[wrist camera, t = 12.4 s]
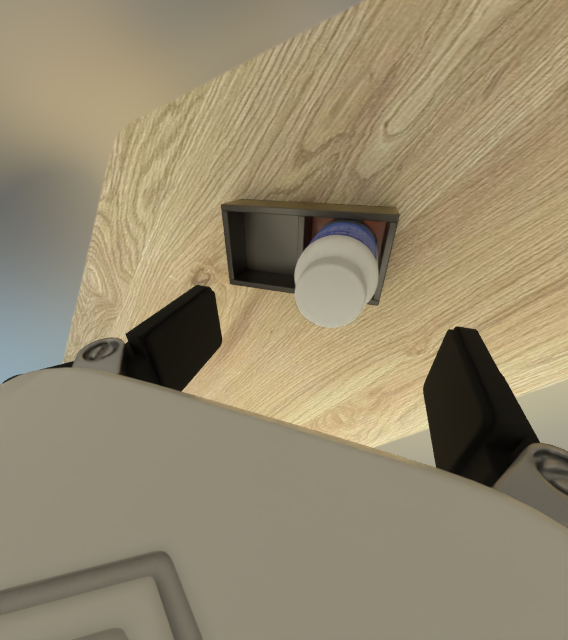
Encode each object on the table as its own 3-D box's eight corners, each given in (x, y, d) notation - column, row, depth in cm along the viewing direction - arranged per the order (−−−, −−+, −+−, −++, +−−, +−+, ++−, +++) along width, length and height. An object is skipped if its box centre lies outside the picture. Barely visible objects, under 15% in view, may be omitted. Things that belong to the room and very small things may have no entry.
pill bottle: (307, 225, 22) (268, 261, 14) (373, 207, 20) (370, 237, 12) (322, 283, 24) (295, 341, 16) (382, 273, 22) (384, 334, 14)
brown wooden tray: (240, 199, 23) (220, 204, 20) (396, 207, 20) (399, 214, 17) (245, 271, 27) (229, 284, 24) (378, 288, 24) (378, 306, 21)
